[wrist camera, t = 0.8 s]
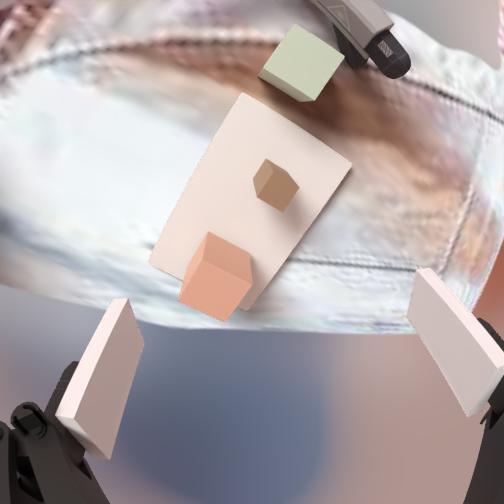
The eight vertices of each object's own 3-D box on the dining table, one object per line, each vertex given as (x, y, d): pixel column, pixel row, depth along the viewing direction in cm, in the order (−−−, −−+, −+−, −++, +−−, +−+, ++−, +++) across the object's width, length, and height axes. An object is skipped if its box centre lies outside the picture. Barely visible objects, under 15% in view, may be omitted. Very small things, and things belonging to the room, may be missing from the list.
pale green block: (257, 76, 28) (262, 67, 22) (283, 38, 27) (294, 23, 21) (299, 102, 30) (314, 100, 24) (324, 65, 28) (345, 56, 22)
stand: (149, 257, 37) (129, 298, 29) (241, 92, 29) (244, 86, 21) (247, 305, 41) (250, 352, 33) (349, 162, 33) (382, 180, 25)
